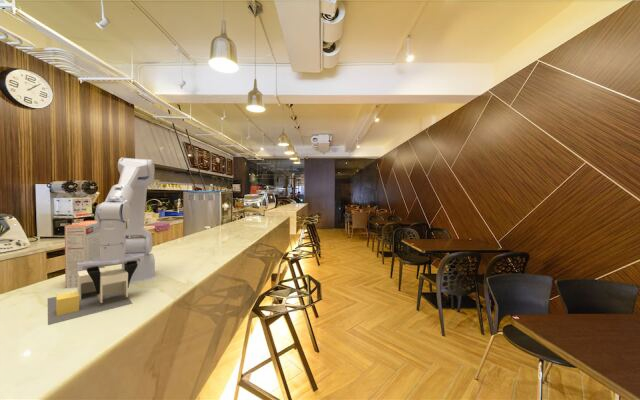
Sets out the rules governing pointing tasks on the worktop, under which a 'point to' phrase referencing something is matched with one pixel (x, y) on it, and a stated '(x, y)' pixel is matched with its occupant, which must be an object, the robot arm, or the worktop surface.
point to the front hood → (113, 282)
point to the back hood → (86, 282)
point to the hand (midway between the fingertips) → (112, 290)
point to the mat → (87, 306)
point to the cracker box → (80, 248)
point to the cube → (67, 303)
